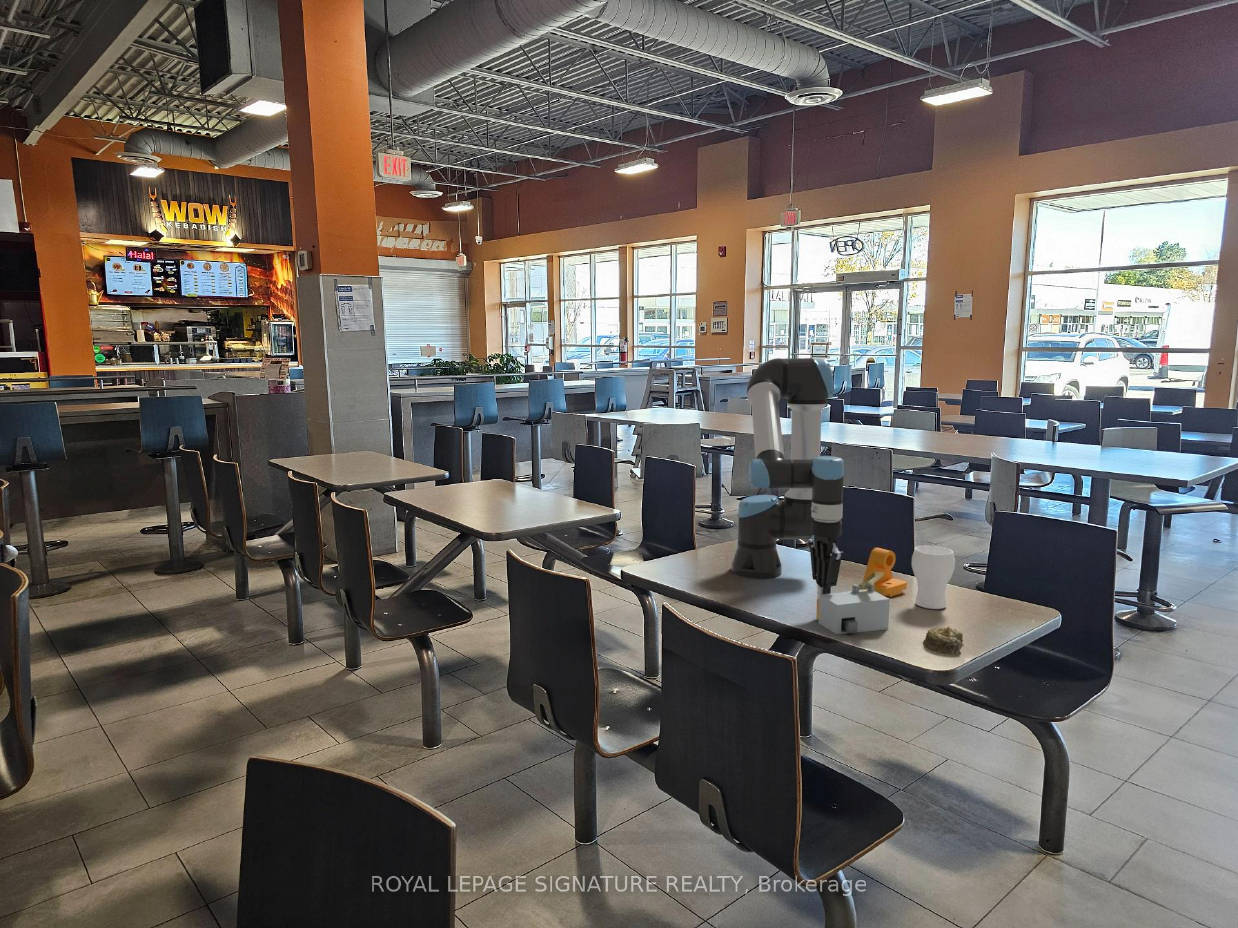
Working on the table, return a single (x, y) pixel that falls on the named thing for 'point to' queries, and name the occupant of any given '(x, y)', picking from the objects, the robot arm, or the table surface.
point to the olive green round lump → (944, 640)
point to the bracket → (884, 572)
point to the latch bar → (870, 580)
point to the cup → (932, 574)
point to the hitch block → (854, 609)
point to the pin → (843, 622)
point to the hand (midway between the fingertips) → (823, 610)
